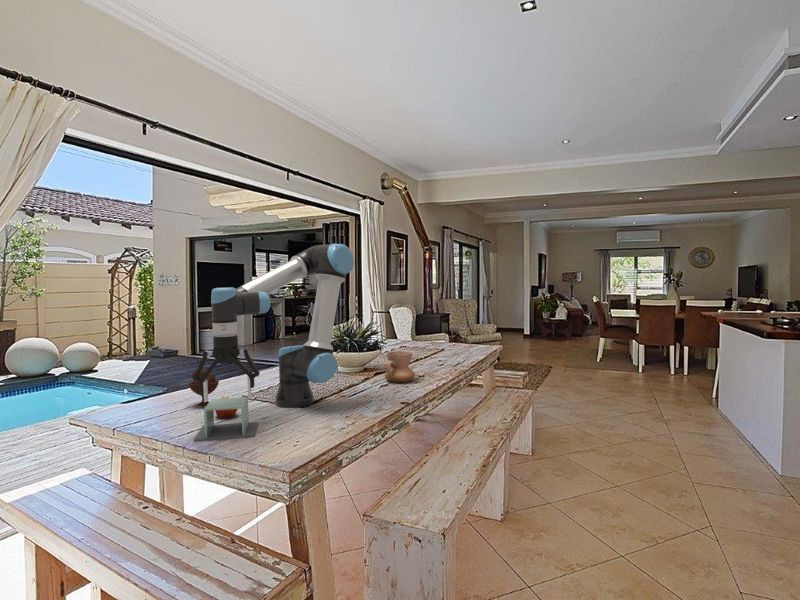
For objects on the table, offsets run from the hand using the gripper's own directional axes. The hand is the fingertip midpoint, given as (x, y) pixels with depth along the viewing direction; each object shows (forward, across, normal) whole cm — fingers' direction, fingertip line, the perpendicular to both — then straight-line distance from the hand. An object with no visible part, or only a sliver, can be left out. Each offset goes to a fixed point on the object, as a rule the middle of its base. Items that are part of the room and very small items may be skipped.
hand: (228, 399), depth 153 cm
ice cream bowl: (+11, -14, +36) cm, 40 cm away
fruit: (+11, -4, +18) cm, 21 cm away
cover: (+10, 0, 0) cm, 10 cm away
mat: (+11, 0, 0) cm, 11 cm away
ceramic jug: (+13, +69, +60) cm, 92 cm away
